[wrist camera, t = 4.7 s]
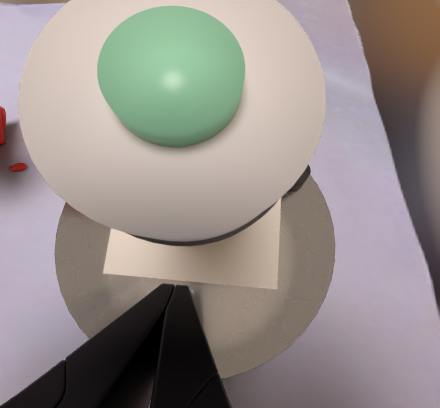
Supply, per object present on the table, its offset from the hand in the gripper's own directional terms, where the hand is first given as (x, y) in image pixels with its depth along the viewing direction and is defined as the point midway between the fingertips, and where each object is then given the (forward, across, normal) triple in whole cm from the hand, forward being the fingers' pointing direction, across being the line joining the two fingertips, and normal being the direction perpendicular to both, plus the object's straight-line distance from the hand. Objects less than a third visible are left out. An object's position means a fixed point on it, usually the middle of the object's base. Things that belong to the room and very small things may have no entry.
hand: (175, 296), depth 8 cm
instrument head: (+9, 0, -1) cm, 9 cm away
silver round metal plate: (+11, 0, +2) cm, 11 cm away
